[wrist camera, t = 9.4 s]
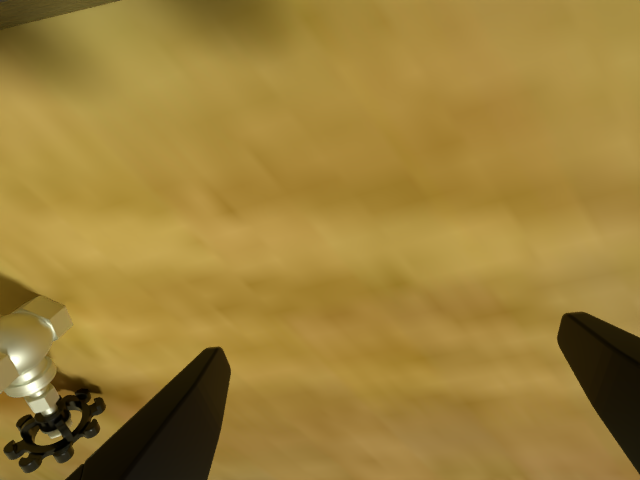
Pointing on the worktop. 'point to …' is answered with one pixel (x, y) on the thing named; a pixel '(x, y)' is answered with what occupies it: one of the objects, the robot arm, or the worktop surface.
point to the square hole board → (40, 9)
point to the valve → (41, 383)
